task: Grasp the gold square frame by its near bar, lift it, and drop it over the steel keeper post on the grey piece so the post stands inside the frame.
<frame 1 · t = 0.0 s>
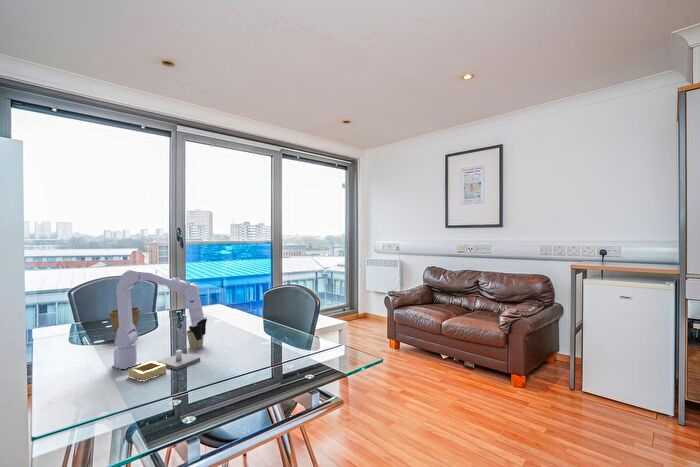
hand: (201, 337, 162), 11 cm above the table, tool pointing down, fingers open, 7 cm apart
flower pot: (196, 347, 180), on the table
gold square frame: (147, 375, 145), on the table
plant pot: (125, 337, 200), on the table
grey piece: (178, 362, 159), on the table
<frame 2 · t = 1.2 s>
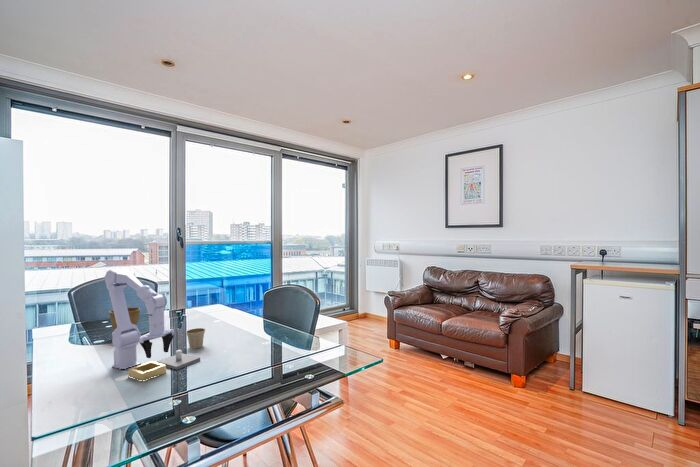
hand: (157, 354, 149), 7 cm above the table, tool pointing down, fingers open, 7 cm apart
nothing on the table moved.
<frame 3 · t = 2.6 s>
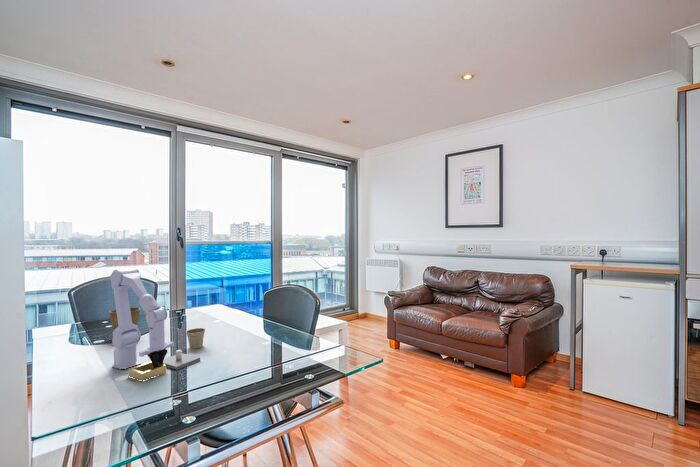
hand: (157, 367, 149), 2 cm above the table, tool pointing down, fingers closed on gold square frame
gold square frame: (147, 375, 145), on the table, touching gripper
everything else where it was.
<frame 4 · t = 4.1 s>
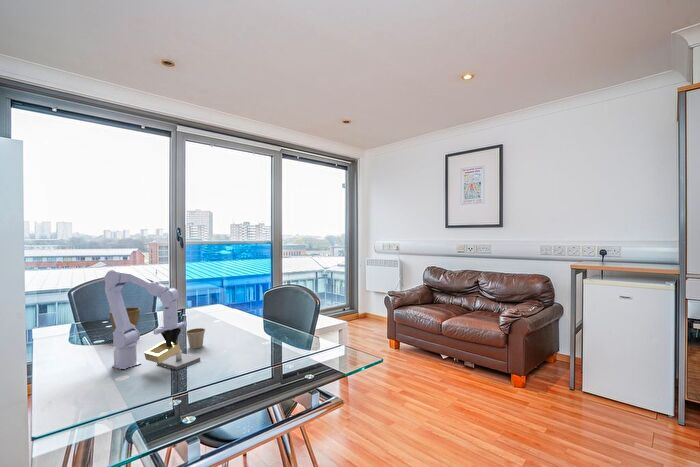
hand: (171, 346, 155), 9 cm above the table, tool pointing down, fingers closed on gold square frame
gold square frame: (163, 355, 152), point 6 cm above the table, tilted 14°, touching gripper
everything else where it was.
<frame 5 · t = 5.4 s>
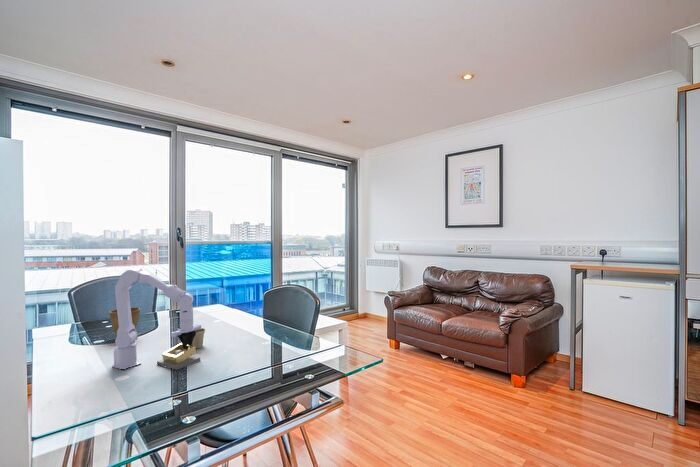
hand: (187, 348, 162), 5 cm above the table, tool pointing down, fingers closed on gold square frame
gold square frame: (180, 356, 159), point 3 cm above the table, tilted 13°, touching grey piece, gripper
everything else where it was.
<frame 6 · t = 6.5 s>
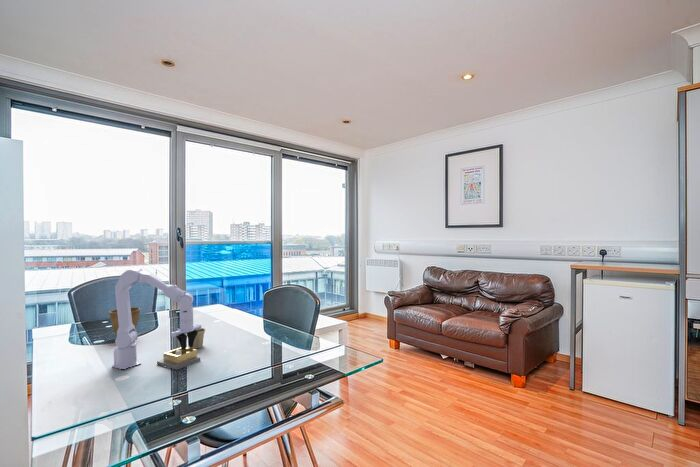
hand: (187, 348, 162), 5 cm above the table, tool pointing down, fingers open, 3 cm apart
gold square frame: (180, 358, 159), point 1 cm above the table, touching grey piece
everything else where it was.
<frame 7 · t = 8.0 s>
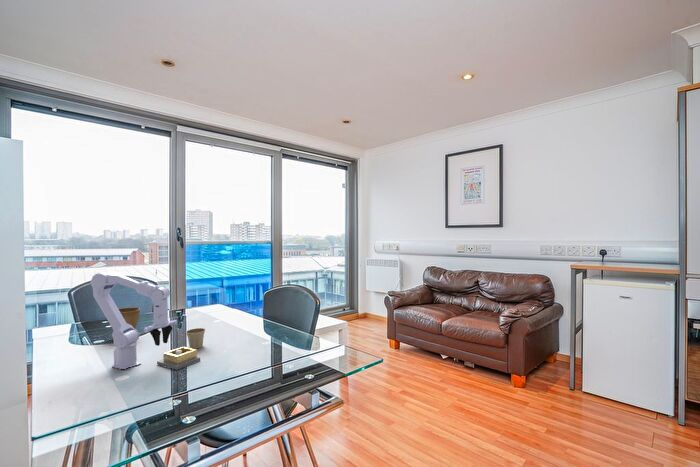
hand: (161, 344, 157), 9 cm above the table, tool pointing down, fingers open, 3 cm apart
nothing on the table moved.
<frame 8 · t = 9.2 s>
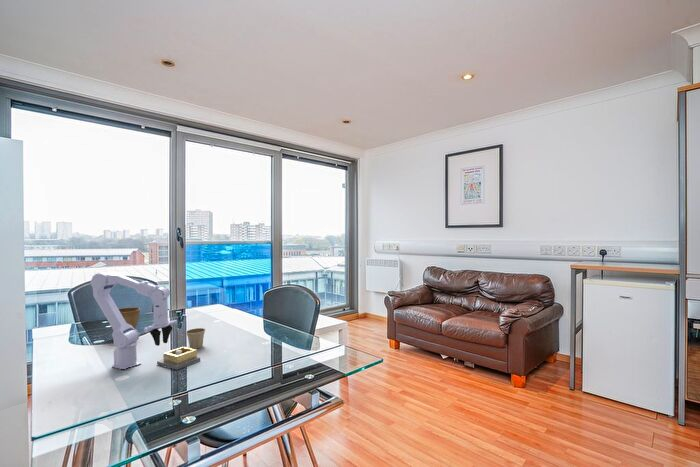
hand: (161, 344, 157), 9 cm above the table, tool pointing down, fingers open, 3 cm apart
nothing on the table moved.
at the end: gold square frame 0.8 cm off-centre on the grey piece, point 1.5 cm above the grey piece's base; gold square frame tilted 0°; the gripper is holding nothing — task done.
